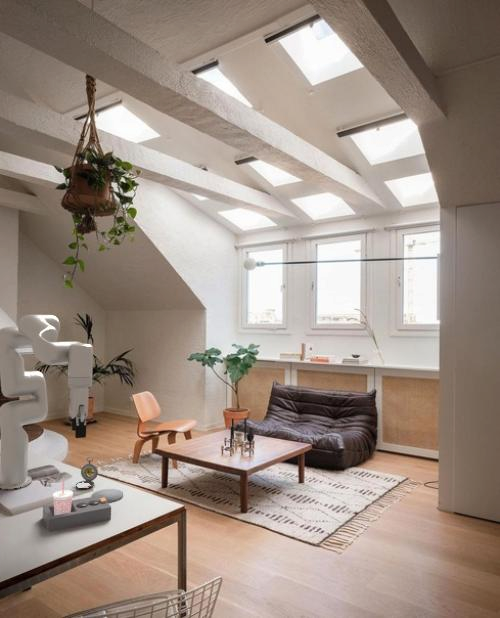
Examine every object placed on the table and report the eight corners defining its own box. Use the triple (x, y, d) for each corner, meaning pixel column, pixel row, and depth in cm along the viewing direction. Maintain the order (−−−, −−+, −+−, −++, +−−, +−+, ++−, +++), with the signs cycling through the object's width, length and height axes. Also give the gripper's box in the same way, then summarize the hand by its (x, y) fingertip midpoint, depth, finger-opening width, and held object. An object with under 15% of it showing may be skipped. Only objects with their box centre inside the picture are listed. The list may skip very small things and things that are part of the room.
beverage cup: (47, 523, 152) (48, 479, 152) (61, 515, 158) (62, 473, 158) (63, 527, 150) (64, 482, 150) (76, 519, 156) (77, 476, 155)
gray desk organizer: (42, 517, 156) (43, 503, 156) (101, 506, 166) (102, 492, 166) (48, 532, 146) (49, 516, 146) (110, 519, 157) (111, 504, 156)
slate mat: (88, 493, 176) (88, 492, 176) (118, 488, 182) (118, 487, 182) (95, 505, 167) (95, 503, 167) (127, 499, 173) (127, 497, 173)
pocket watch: (77, 491, 178) (77, 464, 178) (74, 483, 186) (74, 457, 186) (99, 487, 182) (100, 461, 182) (95, 480, 190) (96, 454, 190)
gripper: (65, 378, 163) (64, 428, 163) (70, 386, 147) (69, 442, 148) (88, 377, 166) (87, 426, 166) (96, 385, 151) (94, 439, 151)
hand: (78, 433), depth 157 cm, fingers open, 9 cm apart
